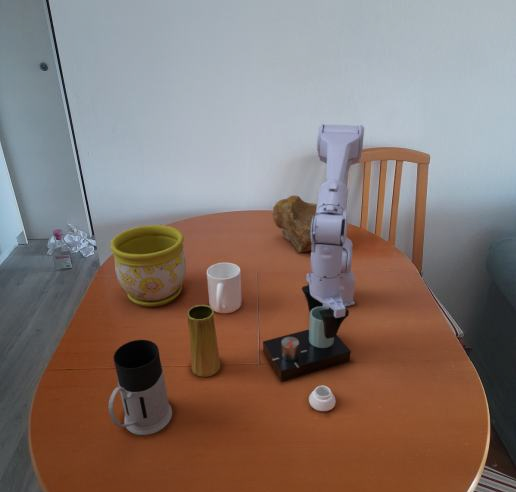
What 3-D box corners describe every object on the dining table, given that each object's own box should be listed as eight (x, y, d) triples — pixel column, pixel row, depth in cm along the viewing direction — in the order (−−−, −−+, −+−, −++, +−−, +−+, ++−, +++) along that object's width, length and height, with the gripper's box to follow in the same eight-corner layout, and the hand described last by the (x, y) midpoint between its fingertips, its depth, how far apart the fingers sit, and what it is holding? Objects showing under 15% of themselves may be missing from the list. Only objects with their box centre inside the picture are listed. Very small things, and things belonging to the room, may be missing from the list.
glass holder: (179, 402, 86) (170, 340, 79) (147, 465, 74) (132, 400, 66) (137, 395, 88) (125, 334, 80) (99, 456, 76) (80, 391, 68)
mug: (236, 324, 107) (234, 288, 102) (202, 322, 108) (199, 286, 103) (244, 297, 118) (242, 263, 113) (213, 295, 119) (210, 261, 114)
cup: (303, 338, 98) (304, 312, 94) (322, 329, 100) (323, 303, 97) (320, 351, 94) (322, 324, 90) (339, 341, 96) (341, 315, 93)
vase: (197, 381, 91) (191, 324, 84) (187, 363, 96) (180, 308, 89) (225, 371, 93) (221, 315, 86) (213, 354, 98) (209, 300, 91)
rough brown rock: (273, 259, 137) (274, 216, 129) (271, 232, 151) (272, 192, 142) (348, 260, 137) (354, 217, 129) (339, 233, 151) (345, 193, 143)
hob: (327, 334, 103) (327, 323, 102) (350, 362, 95) (352, 351, 93) (261, 352, 98) (261, 341, 97) (280, 383, 90) (280, 372, 88)
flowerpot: (127, 320, 109) (115, 262, 101) (116, 285, 124) (105, 232, 116) (197, 302, 116) (192, 246, 108) (179, 271, 130) (173, 219, 122)
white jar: (327, 390, 88) (304, 397, 86) (327, 378, 87) (304, 386, 85) (340, 407, 84) (316, 416, 82) (341, 396, 82) (317, 404, 81)
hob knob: (280, 350, 94) (280, 335, 92) (297, 349, 94) (297, 334, 92) (282, 361, 91) (282, 347, 89) (299, 360, 91) (300, 346, 89)
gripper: (362, 285, 83) (355, 342, 90) (328, 252, 96) (325, 304, 102) (327, 292, 82) (323, 350, 88) (298, 257, 94) (296, 310, 100)
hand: (322, 326), depth 95 cm, fingers open, 7 cm apart
